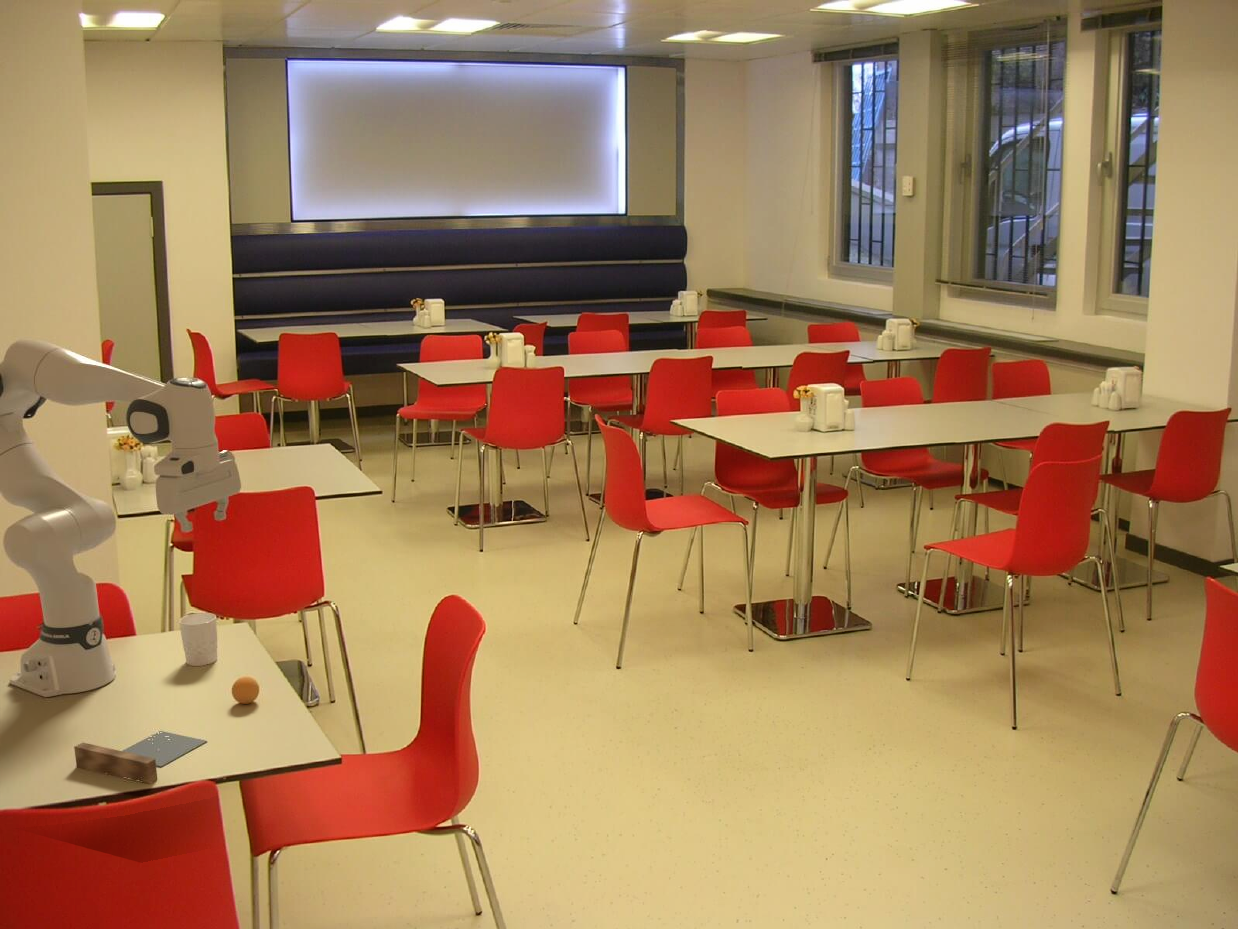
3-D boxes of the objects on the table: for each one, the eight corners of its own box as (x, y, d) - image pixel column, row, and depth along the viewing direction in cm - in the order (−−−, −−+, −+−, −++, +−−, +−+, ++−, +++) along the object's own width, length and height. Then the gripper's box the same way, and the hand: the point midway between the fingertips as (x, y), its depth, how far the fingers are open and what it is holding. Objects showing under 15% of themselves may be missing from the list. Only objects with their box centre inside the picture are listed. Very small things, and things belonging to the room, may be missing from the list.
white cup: (209, 668, 293) (205, 625, 291) (176, 666, 295) (172, 623, 292) (226, 655, 301) (222, 613, 298) (194, 653, 302) (190, 612, 300)
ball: (227, 705, 272) (224, 680, 271) (245, 695, 277) (243, 671, 276) (248, 709, 270) (245, 684, 268) (266, 699, 275) (263, 674, 273)
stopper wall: (76, 766, 246) (74, 746, 245) (85, 762, 247) (82, 742, 247) (149, 784, 238) (146, 763, 237) (157, 779, 240) (155, 758, 239)
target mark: (113, 756, 250) (113, 755, 250) (160, 731, 260) (160, 730, 260) (161, 767, 244) (161, 766, 244) (207, 741, 255) (207, 740, 255)
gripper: (221, 447, 276) (228, 511, 279) (147, 468, 258) (155, 537, 261) (244, 449, 273) (251, 514, 276) (171, 470, 255) (179, 539, 258)
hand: (204, 525), depth 268 cm, fingers open, 8 cm apart
